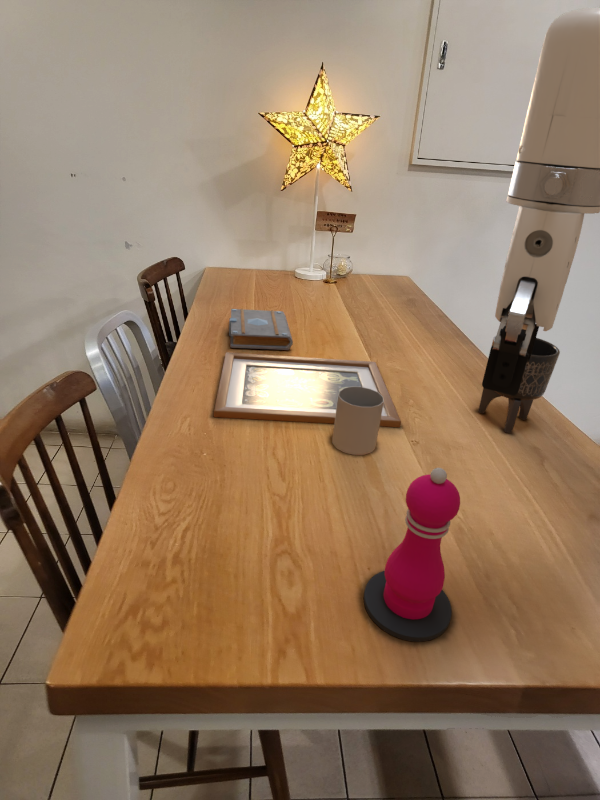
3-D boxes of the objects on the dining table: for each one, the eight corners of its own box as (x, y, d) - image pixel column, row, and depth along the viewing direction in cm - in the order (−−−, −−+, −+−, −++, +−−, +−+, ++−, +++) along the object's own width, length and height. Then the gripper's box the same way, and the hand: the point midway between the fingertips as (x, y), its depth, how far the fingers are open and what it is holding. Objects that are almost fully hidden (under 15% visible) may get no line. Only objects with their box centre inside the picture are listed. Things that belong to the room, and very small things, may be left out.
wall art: (225, 351, 134) (375, 361, 137) (225, 357, 135) (374, 366, 138) (213, 410, 107) (401, 421, 110) (213, 417, 107) (400, 427, 110)
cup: (364, 460, 98) (372, 411, 94) (324, 445, 101) (330, 398, 97) (381, 440, 105) (390, 395, 100) (344, 427, 108) (350, 382, 104)
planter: (540, 440, 111) (567, 360, 103) (476, 429, 112) (498, 350, 104) (528, 411, 122) (551, 338, 114) (470, 402, 124) (489, 329, 116)
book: (291, 351, 142) (293, 333, 140) (228, 348, 140) (229, 330, 138) (284, 324, 161) (286, 308, 159) (229, 322, 158) (229, 305, 156)
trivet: (422, 567, 75) (423, 562, 75) (467, 631, 66) (469, 626, 65) (350, 580, 71) (350, 576, 71) (387, 650, 62) (388, 645, 62)
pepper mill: (447, 602, 68) (485, 472, 59) (415, 634, 64) (452, 497, 55) (400, 570, 73) (430, 444, 64) (367, 597, 68) (394, 465, 59)
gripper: (605, 202, 37) (538, 418, 45) (604, 188, 51) (553, 355, 59) (494, 189, 40) (449, 395, 48) (522, 179, 54) (483, 339, 62)
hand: (506, 373), depth 53 cm, fingers open, 9 cm apart
